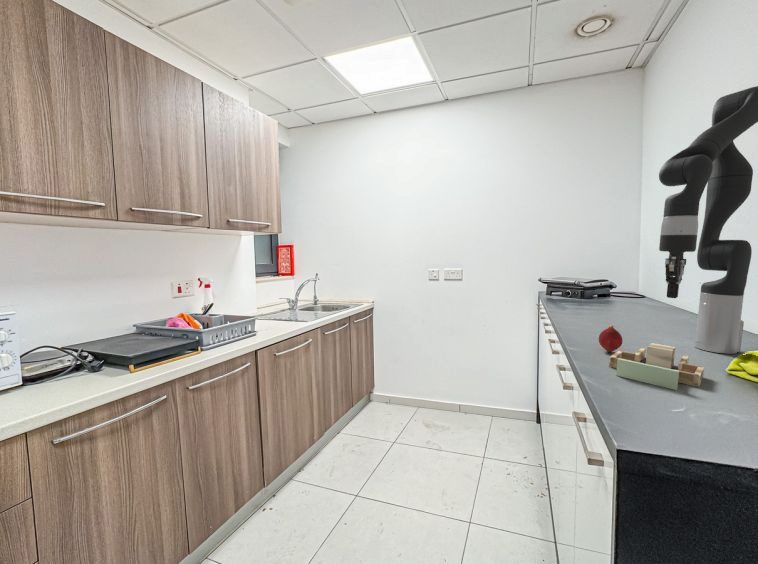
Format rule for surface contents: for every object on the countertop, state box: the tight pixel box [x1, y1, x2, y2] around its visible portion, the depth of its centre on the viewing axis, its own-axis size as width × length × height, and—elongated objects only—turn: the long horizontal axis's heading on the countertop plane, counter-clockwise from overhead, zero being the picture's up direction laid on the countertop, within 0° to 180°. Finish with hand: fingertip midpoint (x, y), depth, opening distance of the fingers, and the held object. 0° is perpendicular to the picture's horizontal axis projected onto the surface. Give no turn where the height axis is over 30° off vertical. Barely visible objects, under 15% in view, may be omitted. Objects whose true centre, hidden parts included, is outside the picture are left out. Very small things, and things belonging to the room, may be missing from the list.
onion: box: [598, 324, 624, 353], centre depth 100 cm, size 6×6×8 cm
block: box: [645, 342, 676, 369], centre depth 90 cm, size 5×5×5 cm
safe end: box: [615, 358, 679, 391], centre depth 78 cm, size 1×11×4 cm, turn 43°
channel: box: [608, 347, 705, 388], centre depth 86 cm, size 22×17×2 cm
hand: (672, 297), depth 94 cm, fingers closed
